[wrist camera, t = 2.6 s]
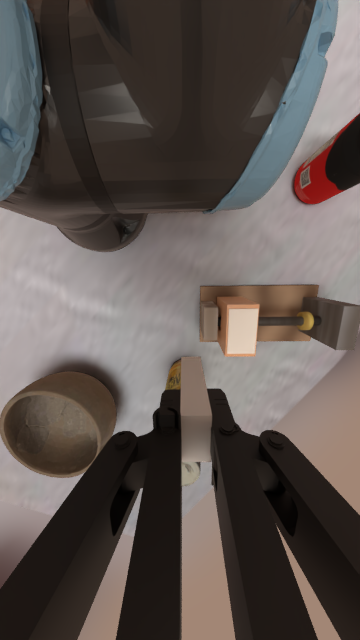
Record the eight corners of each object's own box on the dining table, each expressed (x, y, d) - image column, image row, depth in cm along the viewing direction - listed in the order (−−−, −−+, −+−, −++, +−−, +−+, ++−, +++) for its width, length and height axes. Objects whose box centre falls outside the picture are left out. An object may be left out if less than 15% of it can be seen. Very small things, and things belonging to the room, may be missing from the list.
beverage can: (291, 210, 32) (355, 174, 20) (289, 165, 30) (357, 98, 18) (332, 201, 31) (421, 160, 20) (332, 155, 30) (429, 81, 18)
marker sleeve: (217, 296, 32) (227, 305, 24) (241, 296, 32) (260, 304, 24) (215, 337, 34) (225, 357, 26) (239, 337, 34) (255, 357, 26)
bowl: (31, 417, 42) (-15, 462, 32) (51, 345, 38) (6, 371, 28) (108, 444, 43) (86, 495, 34) (136, 378, 39) (121, 413, 30)
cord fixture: (199, 340, 37) (205, 364, 28) (200, 286, 35) (206, 292, 25) (307, 339, 37) (351, 363, 27) (315, 284, 34) (366, 290, 25)
